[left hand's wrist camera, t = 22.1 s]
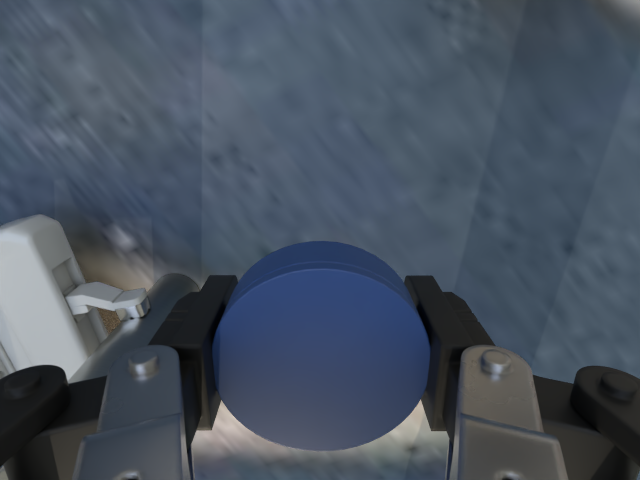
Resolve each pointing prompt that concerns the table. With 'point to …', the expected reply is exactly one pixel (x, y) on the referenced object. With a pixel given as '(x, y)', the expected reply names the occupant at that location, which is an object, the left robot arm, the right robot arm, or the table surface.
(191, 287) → the dark grey tube
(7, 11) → the table surface
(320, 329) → the lid
